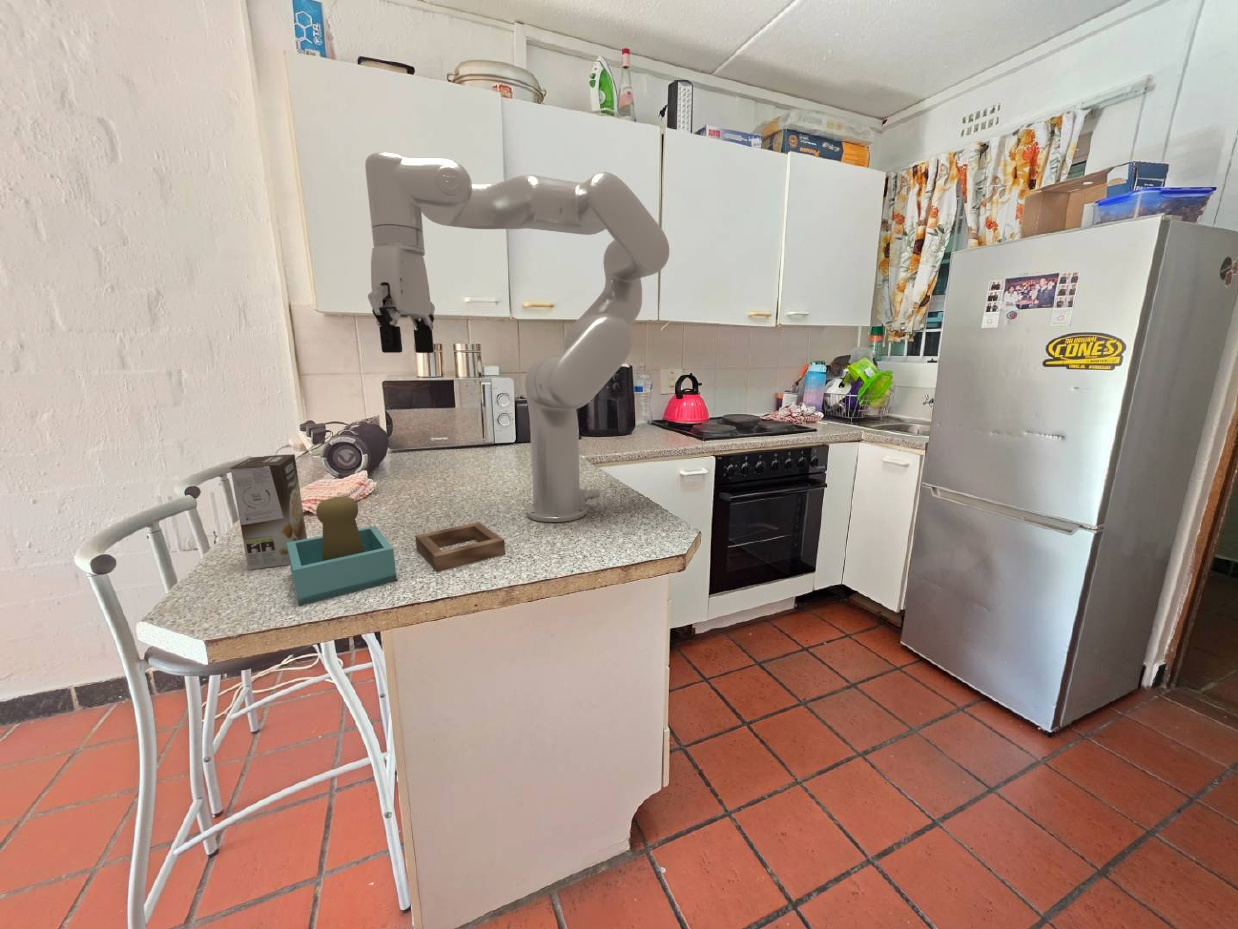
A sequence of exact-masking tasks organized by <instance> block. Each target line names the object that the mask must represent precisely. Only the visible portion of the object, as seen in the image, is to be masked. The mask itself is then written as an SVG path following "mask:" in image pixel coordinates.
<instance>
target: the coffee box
mask: <svg viewBox="0 0 1238 929" xmlns="http://www.w3.org/2000/svg"><path fill="white" fill-rule="evenodd" d="M229 470H230V473H231V478H232V484H233V490H234V496H235V502H236V507H237V514H238V518H239V525H240V529H241V530H240V531H241V537H242V541H243V548H244V552H245V558H246V563H247V569H248V570H250V571H251V570H258V569H266V568H272V567H279V566H282V567H283V566H290V560H289V554H288V548H287V542H292V541H298V540H303V539H308V536H307V528H306V524H305V516H304V515H305V514H304V509H303V500H302V496H301V494H302V493H301V489H300V481H299V475H298V468H297V462H296V455H295V454H294V453H293V454H292V453H291V454H273V455H263V456H252V457H249V458H248V459H245V460H243V461H241V462H239V463H237V464H235V465H233V466H231V467H230V468H229Z"/></svg>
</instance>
